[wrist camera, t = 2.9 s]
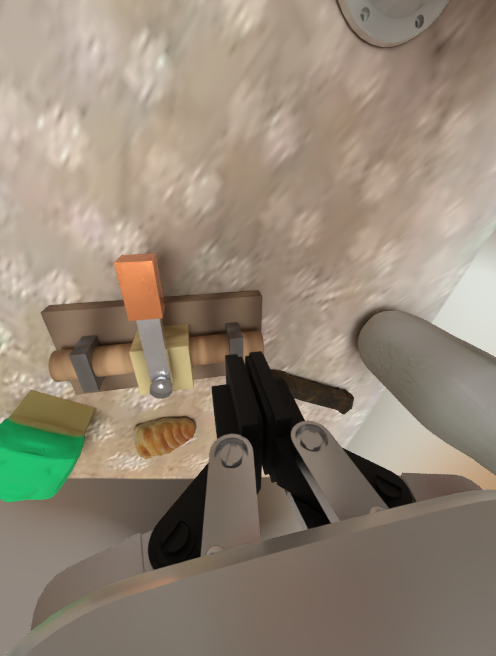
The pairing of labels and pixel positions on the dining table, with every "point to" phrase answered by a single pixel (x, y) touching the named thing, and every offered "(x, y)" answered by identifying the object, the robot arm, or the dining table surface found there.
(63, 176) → the dining table surface
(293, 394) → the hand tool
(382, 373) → the grey bottle
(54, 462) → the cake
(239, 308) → the pipe board
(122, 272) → the valve lever
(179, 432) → the pastry
